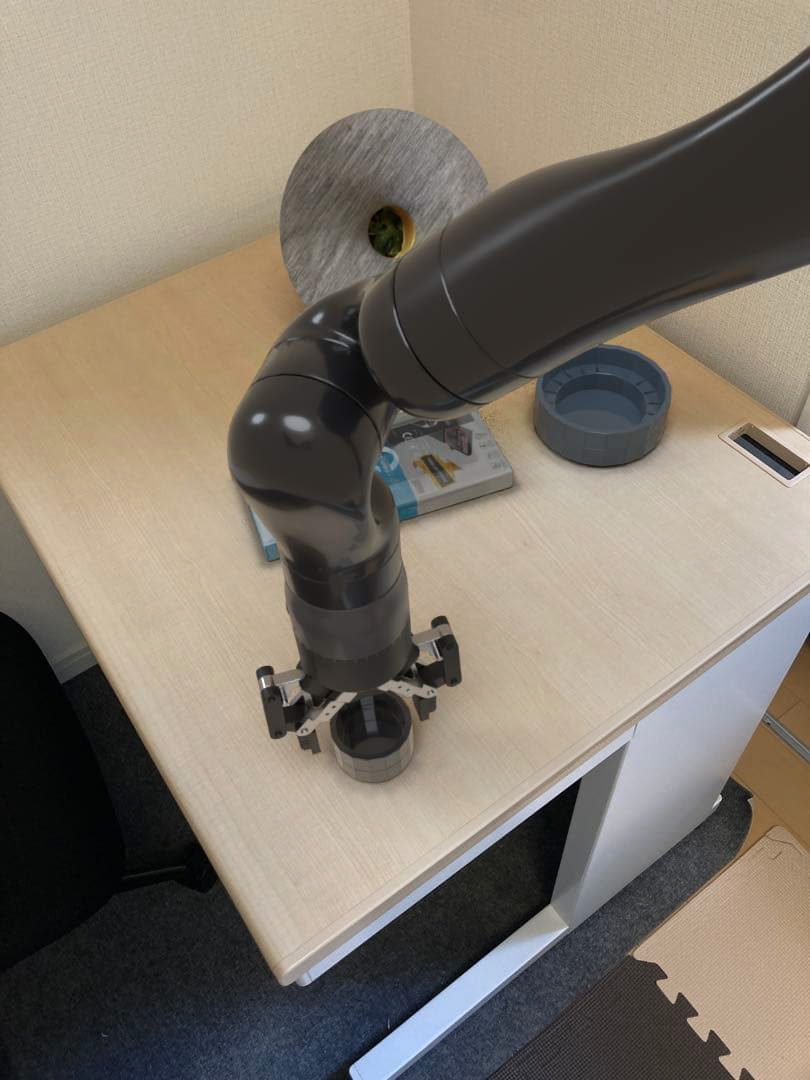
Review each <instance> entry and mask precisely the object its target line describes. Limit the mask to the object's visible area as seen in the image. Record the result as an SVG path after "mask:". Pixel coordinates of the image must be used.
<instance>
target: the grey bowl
mask: <svg viewBox="0 0 810 1080" xmlns="http://www.w3.org/2000/svg"><path fill="white" fill-rule="evenodd" d="M672 392H673V387H672V384H671V381H670V380H669V377H668V375H667V373H666V372H665V371H664V369H663V368H661V366H660V365H659V364H658V363H657V362H656V361H655V360H653V359H651V358H650V357H648V356H647V355H645V354H644V353H642V352H640V351H638V350H634V349H631V348H628V347H624V346H621V345H616V344H607V343H602V344H600V345H598V346H596V347H594V348H592V349H590V350H588V351H586V352H584V353H582V354H580V355H578V356H577V357H575V358H573V359H571V360H569V361H568V362H566V363H564V364H562V365H560V366H559V367H557V368H555V369H553V370H551V371H549V372H548V373H546V374H544V375H542V376H540V377H538V378H537V379H536V384H535V390H534V403H533V413H532V414H533V415H532V420H533V423H534V428H535V431H536V434H537V435H538V436H539V437H540V439H541V441H542V442H544V444H545V445H546V446H547V447H548V448H550V449H551V450H552V451H553V452H555V453H557V454H558V455H560V456H561V457H563V458H566V459H568V460H571V461H574V462H577V463H579V464H583V465H591V466H599V467H606V466H607V467H608V466H615V465H623V464H627V463H630V462H633V461H636V460H639V459H641V458H643V457H644V456H645V455H647V454H648V453H650V451H652V450H653V449H654V448H656V447H657V445H658V444H659V442H660V441H661V438H662V437H663V435H664V432H665V428H666V424H667V419H668V416H669V412H670V408H671V403H672Z"/></svg>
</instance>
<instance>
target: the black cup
mask: <svg viewBox="0 0 810 1080" xmlns="http://www.w3.org/2000/svg"><path fill="white" fill-rule="evenodd" d="M329 731H330V738H331V741H332V746H333V749H334V754H335V758H336V760H337V763H339V765H340V767H341V769H342V770H343V771H344V772H345V773H346V774H348V775H349V776H350V777H353V778H354V779H356V780H358V781H362V782H367V783H372V784H374V783H379V782H385V781H389V780H391V779H392V778H394V777H396V776H397V775H398V774H399V775H400V773H402V772H403V771H404V769H405V768H406V766H407V765H408V764H409V762H410V761H412V756H413V752H414V747H415V740H414V739H415V737H414V728H413V720H412V714H411V709H410V707H409V705H407V702H405V700H404V699H403V697H402V696H401V695H400V694H398V693H396V692H393V691H390V690H388V691H387V692H386V693H383V694H379V695H375V696H369V697H365V698H362V699H360V700H358V701H356V702H353V703H349V704H346V705H345V704H344V705H343V706H342V707H341V708H340V709H339V710H338V712H337V713H336V714H335V715H334V716H333V717H332V718H331V719H330V720H329Z"/></svg>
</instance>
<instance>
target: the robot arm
mask: <svg viewBox="0 0 810 1080" xmlns="http://www.w3.org/2000/svg"><path fill="white" fill-rule="evenodd" d="M808 266H810V44H808V45H807V47H806V48H804V49H803V50H801V52H799V53H798V54H797V55H795V56H794V57H793V58H791V60H789V61H788V62H786V63H785V64H784V65H782V66H781V67H780V68H778V69H777V70H775V71H774V72H772V73H771V74H770V75H769V76H766V77H765V78H764V79H763V80H761V81H760V82H758V83H757V84H755V85H754V86H752V87H751V88H749V89H747V90H746V91H744V92H743V93H742V94H740V95H738V96H736V97H734V98H733V99H731V100H729V101H727V102H726V103H724V104H722V105H721V106H719V107H717V108H715V109H714V110H712V111H710V112H707V113H705V114H704V115H702V116H700V117H698V118H696V119H694V120H691V121H689V122H687V123H685V124H683V125H680V126H678V127H676V128H673V129H671V130H668V131H666V132H664V133H661V134H659V135H655V136H653V137H649V138H647V139H642V140H640V141H636V142H632V143H630V144H626V145H624V146H619V147H615V148H610V149H607V150H603V151H598V152H594V153H589V154H586V155H585V154H584V155H582V156H578V157H573V158H570V159H565V160H562V161H561V160H560V161H558V162H555V163H552V164H548V165H546V166H543V167H540V168H538V169H535V170H532V171H531V172H528V173H525V174H524V175H522V176H519V177H517V178H515V179H513V180H511V181H509V182H507V183H506V184H503V185H502V186H499V188H496V189H495V190H493V191H491V193H490V194H489V195H487V196H486V197H484V198H483V199H481V200H479V201H478V202H476V203H475V204H473V205H472V206H470V207H469V208H468V209H466V210H465V211H463V212H462V213H461V214H459V215H458V216H457V217H455V218H454V219H453V220H451V221H450V222H449V223H447V224H446V225H445V226H443V227H442V228H441V229H439V230H438V231H437V232H435V233H434V234H433V235H431V236H430V237H429V238H427V239H426V240H425V241H423V242H422V243H421V244H419V245H418V246H417V247H415V248H414V249H413V250H411V251H410V252H409V253H408V254H406V255H405V256H403V257H402V258H401V259H400V260H399V261H397V262H396V263H395V264H394V265H393V266H392V267H390V268H389V269H388V270H387V271H386V272H385V273H382V274H378V275H375V276H372V277H369V278H366V279H363V280H361V281H358V282H356V283H354V284H352V285H350V286H347V287H345V288H343V289H341V290H338V291H336V292H334V293H332V294H329V295H327V296H325V297H323V298H322V299H320V300H318V301H317V302H315V303H314V304H312V305H311V306H309V307H308V308H307V307H306V308H305V309H304V310H303V311H301V313H299V314H298V315H297V316H296V317H295V318H294V319H292V320H291V322H289V324H287V326H286V327H285V328H284V329H283V330H282V331H281V332H280V334H279V335H278V336H277V338H276V339H275V340H274V342H273V344H272V345H271V347H270V348H269V351H268V352H267V354H266V356H265V358H264V359H263V361H262V363H261V365H260V367H259V369H258V371H257V372H256V374H255V376H254V377H253V379H252V381H251V383H250V384H249V387H248V388H247V390H246V392H245V393H244V395H243V396H242V397H241V400H240V402H239V403H238V406H237V407H236V410H235V411H234V413H233V415H232V417H231V421H230V423H229V427H228V430H227V439H226V441H227V442H226V456H227V457H226V459H227V465H228V471H229V474H230V478H231V480H232V482H233V485H234V486H235V488H236V489H237V491H238V493H239V494H240V496H241V497H242V498H243V499H244V501H245V502H246V503H247V506H248V505H249V506H250V507H251V509H252V510H253V511H254V512H255V514H256V515H257V516H258V518H259V519H260V521H261V522H262V524H263V525H264V527H265V528H266V529H267V530H268V532H269V533H270V534H271V535H272V536H273V538H274V539H275V540H276V544H277V548H278V552H279V556H280V558H279V560H280V564H281V569H282V572H283V579H284V580H283V585H284V590H283V591H284V598H285V609H286V612H287V614H288V615H287V616H289V620H290V624H291V627H292V631H293V635H294V636H293V637H294V639H295V643H296V647H297V651H298V655H299V660H298V662H297V663H296V666H295V668H294V669H290V670H286V671H282V672H278V673H275V670H274V667H273V666H272V665H262V666H260V667H258V668H257V669H256V670H255V676H256V680H257V684H258V691H259V694H260V700H261V705H262V708H263V713H264V717H265V721H266V726H267V730H268V734H269V737H270V739H272V740H281V739H283V738H284V737H286V736H287V734H288V732H292V733H295V735H296V737H297V741H298V744H299V747H300V749H301V750H302V751H305V752H306V751H309V750H310V751H311V755H313V756H314V755H316V754H317V755H318V754H321V753H322V750H321V746H320V742H319V737H318V734H317V730H316V728H317V727H318V726H319V725H320V723H321V722H322V723H328V722H330V719H331V718H332V717H333V716H334V715H335V714H336V713H337V712H338V710H339V709H340V708H341V707H342V706H343V705H344V704H345V705H346V704H349V703H353V702H356V701H358V700H360V699H362V698H365V697H369V696H375V695H379V694H383V693H386V692H387V691H388V690H390V691H393V692H394V693H396V694H398V695H400V696H404V697H407V698H411V697H412V702H413V705H414V709H415V711H416V714H417V716H418V719H419V722H421V723H422V722H425V721H428V720H430V717H431V716H430V714H431V713H434V712H435V711H436V710H437V708H438V707H437V695H438V694H439V692H440V690H439V688H441V687H443V686H444V685H446V687H448V688H454V687H457V686H459V685H460V684H461V683H462V681H463V675H462V668H461V667H462V665H461V657H460V656H461V655H460V647H459V644H458V641H457V638H456V636H455V634H454V631H453V629H452V625H450V622H449V620H448V617H447V616H446V615H437V616H435V617H433V618H432V620H431V621H430V629H427V630H425V631H421V632H417V633H415V634H414V633H413V632H412V623H411V621H412V620H411V608H410V607H411V606H410V592H409V580H408V574H407V570H406V566H405V563H404V560H403V554H402V544H401V543H402V542H401V527H400V521H399V515H398V511H397V506H396V503H395V499H394V496H393V494H392V492H391V490H390V488H389V486H388V484H387V483H386V482H385V481H384V480H383V478H382V477H381V476H380V475H378V474H377V473H376V472H375V471H374V469H375V467H376V464H377V462H378V459H379V457H380V455H381V452H382V450H383V447H384V444H385V442H386V439H387V437H388V434H389V432H390V429H391V427H392V424H393V422H394V420H395V418H396V416H397V414H398V413H400V412H405V413H407V414H408V415H410V416H413V417H415V418H418V419H422V420H427V421H446V420H452V419H455V418H458V417H461V416H464V415H467V414H469V413H471V412H473V411H476V410H478V411H479V410H480V409H482V408H484V407H486V406H487V405H489V404H491V403H493V402H496V401H497V400H499V399H501V398H503V397H505V396H506V395H509V394H510V393H512V392H514V391H517V390H518V389H520V388H521V387H524V386H525V385H527V384H529V383H531V382H533V381H535V380H537V378H538V377H540V376H542V375H544V374H546V373H548V372H549V371H551V370H553V369H555V368H557V367H559V366H560V365H562V364H564V363H566V362H568V361H569V360H571V359H573V358H575V357H577V356H578V355H580V354H582V353H584V352H586V351H588V350H590V349H592V348H594V347H596V346H598V345H600V344H605V343H606V342H608V341H610V340H613V339H614V338H617V337H618V336H621V335H623V334H625V333H628V332H630V331H632V330H634V329H637V328H640V327H642V326H644V325H646V324H649V323H650V322H652V321H656V320H658V319H660V318H663V317H665V316H669V315H671V314H673V313H676V312H678V311H680V310H683V309H686V308H689V307H691V306H694V305H697V304H701V303H703V302H705V301H709V300H712V299H714V298H716V297H719V296H722V295H725V294H728V293H731V292H734V291H736V290H740V289H742V288H745V287H748V286H751V285H754V284H758V283H760V282H763V281H767V280H768V279H772V278H775V277H777V276H781V275H784V274H787V273H790V272H793V271H795V270H798V269H801V268H805V267H808ZM249 506H248V507H249ZM421 652H426V653H427V654H428V655H429V656H432V657H433V656H434V657H435V661H433V662H431V663H429V662H427V661H425V660H422V659H420V658H419V657H420V654H421ZM298 688H300V690H299V691H298V692H297V693H296V694H295V695H294V697H293V698H292V699H291V701H290V702H289V699H290V698H291V696H292V694H293V692H294V691H295V690H296V689H298Z"/></svg>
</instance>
